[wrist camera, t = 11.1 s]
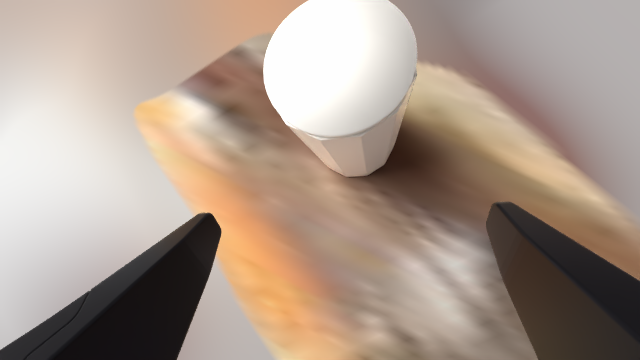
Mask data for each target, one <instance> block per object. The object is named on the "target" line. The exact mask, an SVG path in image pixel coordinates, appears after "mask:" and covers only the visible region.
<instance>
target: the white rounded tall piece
mask: <svg viewBox="0 0 640 360" xmlns="http://www.w3.org/2000/svg"><path fill="white" fill-rule="evenodd" d="M416 63H417V45H416V39H415V35H414V32H413V29H412V27H411V25H410V23H409V21H408V20H407V18H406V17H405V16H404V14H403V13H402V12H401V11H400V10H399V9H398V8H397V7H396V6H395V5H393V4H392V3H391V2H389V1H388V0H310V1H307V2H306V3H304V4H303V5H301V6H300V7H298V8H297V9H296V10H294V11H293V12H292V13H291V14H290V15H289V16H288V17H287V18H286V19H285V20H284V21H283V22H282V23H281V25H280V26H279V27H278V28H277V30H276V32H275V33H274V35H273V37H272V39H271V41H270V43H269V45H268V48H267V52H266V55H265V60H264V71H263V73H264V83H265V88H266V91H267V94H268V97H269V99H270V101H271V103H272V104H273V106H274V107H275V109H276V110H277V111H278V113H279V114H280V115H281V117H282V118H283V120H284V122H285V123H286V125H287V126H288V127H289V128H290V129H291V130H292V131H293V132H294V133H295V134H296V135H297V136H298V137H299V138H300V139H301V140H302V141H303V142H304V143H305V144H306V145H307V146H308V147H309V148H310V149H311V150H312V151H313V152H314V153H315V154H316V155H317V156H318V157H319V158H320V159H321V160H322V161H323V162H324V163H325V164H326V165H327V166H328V167H329V168H330V169H332V170H334V171H336V172H338V173H340V174H342V175H344V176H346V177H354V176H367V175H369V174H371V173H372V172H374V171H375V170H377V169H378V168H380V167H381V166H383V165H385V163H386V161H387V159H388V157H389V155H390V153H391V151H392V149H393V147H394V145H395V142H396V138H397V135H398V132H399V129H400V126H401V123H402V120H403V117H404V113H405V110H406V107H407V104H408V101H409V98H410V95H411V92H412V88H413V85H414V82H415V79H416V76H417V73H416Z"/></svg>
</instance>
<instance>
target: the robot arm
mask: <svg viewBox="0 0 640 360" xmlns="http://www.w3.org/2000/svg"><path fill="white" fill-rule="evenodd" d="M486 229H487V232H488V235H489V239H490V242H491V245H492V248H493V251H494V254H495V258H496V261H497V264H498V267H499V270H500V273H501V276H502V279H503V281H504V284H505V286H506V289H507V291H508V293H509V295H510V297H511V300H512V302H513V304H514V306H515V309H516V311H517V313H518V315H519V317H520V320H521V322H522V324H523V326H524V328H525V331H526V333H527V335H528V337H529V340H530V342H531V344H532V346H533V348H534V351H535V353H536V355H537V357H538V360H640V281H639V280H637V279H636V278H634V277H633V276H631V275H629V274H628V273H626V272H624V271H623V270H621V269H620V268H618V267H616V266H615V265H613V264H611V263H610V262H608V261H607V260H605V259H603V258H602V257H600V256H598V255H597V254H595V253H594V252H592V251H590V250H589V249H587V248H585V247H584V246H582V245H581V244H579V243H577V242H576V241H574V240H572V239H571V238H569V237H568V236H566V235H564V234H563V233H561V232H559V231H558V230H556V229H555V228H553V227H551V226H550V225H548V224H546V223H545V222H543V221H542V220H540V219H538V218H537V217H535V216H533V215H532V214H530V213H529V212H527V211H525V210H524V209H522V208H520V207H519V206H517V205H516V204H514V203H512V202H495V203H493V204H492V206H491V209H490V212H489V215H488V218H487V222H486ZM220 237H221V228H220V226H219V224H218V223H217V221H216V219H215V218H214V216H213V215H212V214H211V213H200V214H198V215H196V216H195V217H193V218H192V219H190V220H189V221H188V222H186V223H185V224H183V225H182V226H180V227H179V228H178V229H176V230H175V231H173V232H172V233H170V234H169V235H168V236H166V237H165V238H164V239H162V240H161V241H160V242H158V243H156V244H155V245H153V246H152V247H151V248H149V249H148V250H146V251H145V252H143V253H142V254H141V255H139V256H138V257H136V258H135V259H134V260H132V261H131V262H129V263H128V264H126V265H125V266H124V267H122V268H121V269H119V270H118V271H116V272H115V273H114V274H112V275H111V276H109V277H108V278H106V279H105V280H104V281H102V282H101V283H99V284H98V285H97V286H95V287H94V288H92V289H91V291H88V292H87V293H85V294H84V295H82V296H81V297H80V298H78V299H77V300H75V301H74V302H72V303H71V304H69V305H68V306H66V307H65V308H64V309H62V310H61V311H59V312H58V313H56V314H55V315H53V316H52V317H50V318H49V319H47V320H46V321H44V322H43V323H41V324H40V325H38V326H37V327H35V328H34V329H32V330H30V331H29V332H27V333H26V334H25V335H23V336H21V337H20V338H18V339H17V340H15V341H14V342H12V343H10V344H9V345H7V346H6V347H4V348H3V349H1V350H0V360H177V357H178V355H179V352H180V350H181V347H182V344H183V342H184V339H185V337H186V334H187V332H188V329H189V327H190V324H191V322H192V319H193V316H194V314H195V311H196V309H197V306H198V304H199V301H200V299H201V296H202V293H203V291H204V288H205V286H206V283H207V281H208V278H209V275H210V272H211V268H212V265H213V262H214V258H215V255H216V251H217V248H218V244H219V240H220Z"/></svg>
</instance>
